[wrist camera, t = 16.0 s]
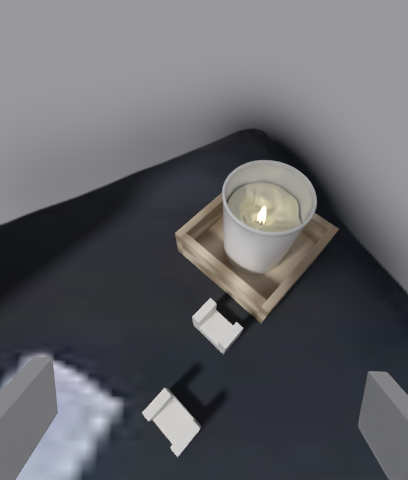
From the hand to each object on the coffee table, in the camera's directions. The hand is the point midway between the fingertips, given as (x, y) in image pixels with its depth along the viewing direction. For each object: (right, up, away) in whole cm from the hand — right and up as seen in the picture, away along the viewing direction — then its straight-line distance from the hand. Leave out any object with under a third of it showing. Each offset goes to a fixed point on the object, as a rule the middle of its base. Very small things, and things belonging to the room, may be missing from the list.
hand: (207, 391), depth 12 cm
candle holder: (+7, +5, +28) cm, 30 cm away
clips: (-1, -9, +21) cm, 23 cm away
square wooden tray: (+7, +5, +29) cm, 30 cm away
